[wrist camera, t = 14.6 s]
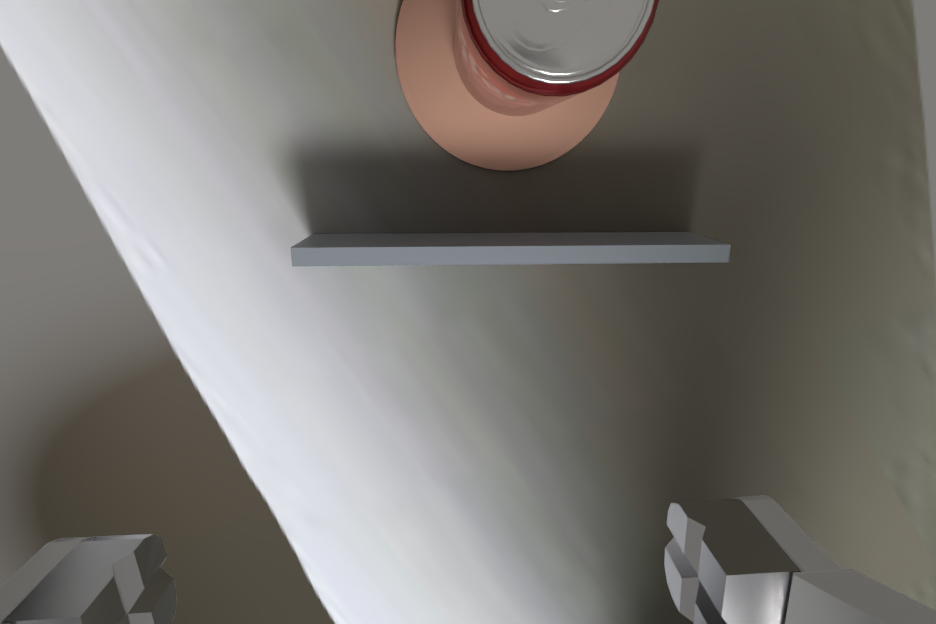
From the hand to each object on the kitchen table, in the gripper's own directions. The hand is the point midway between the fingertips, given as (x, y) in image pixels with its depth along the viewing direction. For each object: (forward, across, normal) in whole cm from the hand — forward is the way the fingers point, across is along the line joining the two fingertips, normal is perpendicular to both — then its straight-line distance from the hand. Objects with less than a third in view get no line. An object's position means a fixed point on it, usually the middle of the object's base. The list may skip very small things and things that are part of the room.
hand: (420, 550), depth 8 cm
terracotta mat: (+26, -4, -12) cm, 29 cm away
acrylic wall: (+26, -4, -1) cm, 26 cm away
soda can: (+26, -5, -12) cm, 29 cm away
